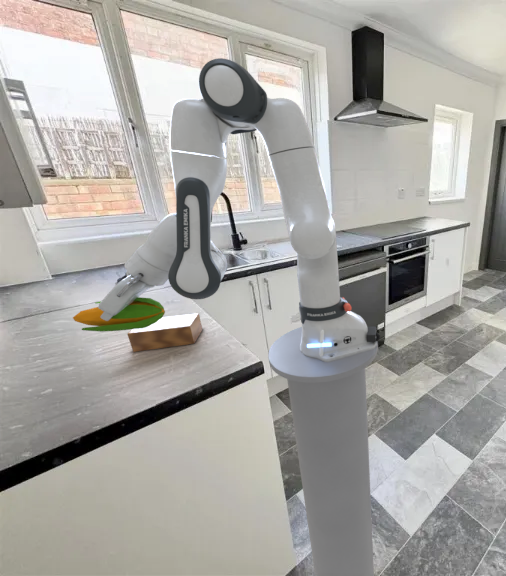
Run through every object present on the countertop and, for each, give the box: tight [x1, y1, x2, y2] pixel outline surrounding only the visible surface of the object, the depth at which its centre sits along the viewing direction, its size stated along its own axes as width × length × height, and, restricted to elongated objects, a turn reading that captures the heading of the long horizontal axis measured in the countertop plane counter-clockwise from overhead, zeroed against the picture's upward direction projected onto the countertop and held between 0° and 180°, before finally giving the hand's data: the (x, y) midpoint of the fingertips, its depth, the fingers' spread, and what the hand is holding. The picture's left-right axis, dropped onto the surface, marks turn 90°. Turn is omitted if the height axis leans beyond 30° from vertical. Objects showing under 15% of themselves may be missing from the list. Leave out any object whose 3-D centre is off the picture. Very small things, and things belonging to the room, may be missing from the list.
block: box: [126, 312, 203, 353], centre depth 95 cm, size 16×10×6 cm, turn 106°
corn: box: [72, 296, 166, 333], centre depth 75 cm, size 7×8×20 cm
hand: (113, 311), depth 75 cm, fingers closed on corn, 6 cm apart
